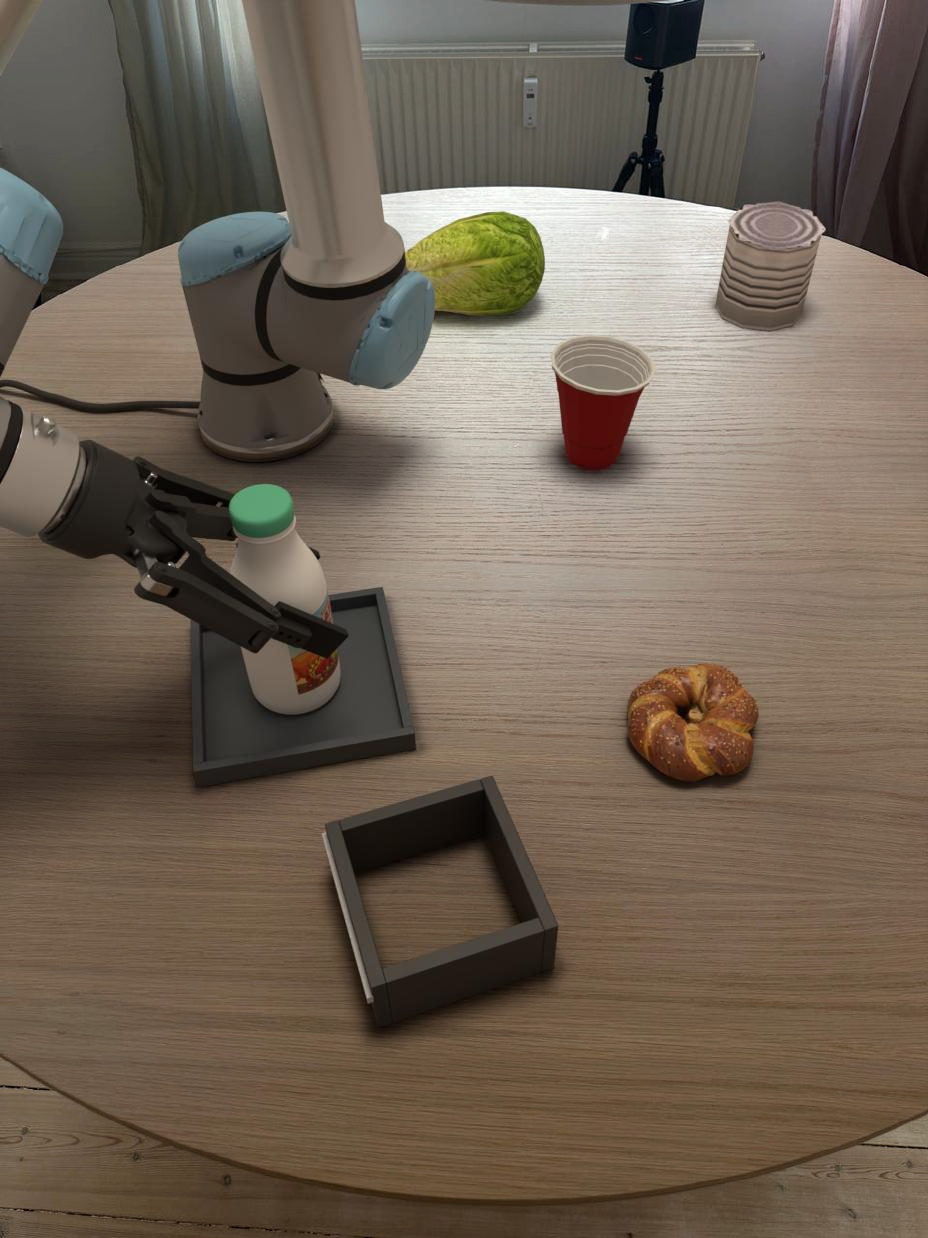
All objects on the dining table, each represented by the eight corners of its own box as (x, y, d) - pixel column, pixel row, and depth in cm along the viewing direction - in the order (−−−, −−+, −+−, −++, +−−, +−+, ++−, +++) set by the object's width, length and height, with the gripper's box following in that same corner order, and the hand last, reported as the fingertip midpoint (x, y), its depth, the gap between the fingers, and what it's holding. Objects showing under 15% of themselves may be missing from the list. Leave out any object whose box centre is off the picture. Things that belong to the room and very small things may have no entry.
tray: (195, 631, 90) (190, 615, 89) (384, 602, 93) (382, 586, 91) (198, 787, 78) (192, 771, 77) (416, 749, 81) (414, 733, 79)
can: (813, 302, 132) (836, 213, 123) (784, 339, 125) (806, 248, 117) (733, 282, 136) (749, 194, 128) (701, 317, 130) (716, 227, 121)
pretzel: (657, 658, 87) (662, 629, 84) (777, 705, 83) (787, 676, 80) (600, 753, 80) (604, 725, 77) (728, 810, 76) (737, 782, 73)
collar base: (329, 869, 73) (319, 824, 69) (491, 820, 76) (492, 774, 71) (373, 1030, 64) (365, 991, 60) (554, 968, 67) (559, 926, 63)
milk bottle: (269, 730, 81) (224, 548, 67) (240, 669, 86) (192, 487, 72) (355, 697, 84) (329, 514, 69) (322, 639, 89) (291, 457, 74)
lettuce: (373, 239, 134) (364, 222, 121) (532, 212, 134) (540, 192, 120) (390, 336, 137) (382, 330, 124) (546, 310, 137) (555, 301, 123)
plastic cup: (639, 491, 104) (653, 392, 95) (538, 479, 106) (542, 381, 97) (646, 432, 111) (660, 336, 103) (552, 422, 113) (557, 327, 104)
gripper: (101, 550, 56) (388, 667, 71) (78, 362, 71) (321, 491, 86) (34, 637, 59) (325, 732, 74) (26, 438, 73) (270, 551, 88)
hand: (322, 603), depth 80 cm, fingers open, 9 cm apart
